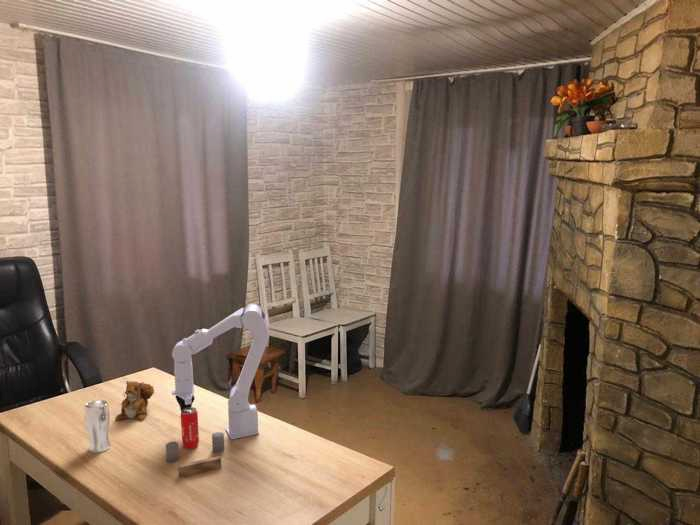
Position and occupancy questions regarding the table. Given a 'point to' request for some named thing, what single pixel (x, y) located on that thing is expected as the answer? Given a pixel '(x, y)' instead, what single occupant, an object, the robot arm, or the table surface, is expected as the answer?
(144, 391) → the stuffed squirrel
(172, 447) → the bollard
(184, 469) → the walnut rail
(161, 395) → the table surface
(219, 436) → the bollard
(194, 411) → the beverage can
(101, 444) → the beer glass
